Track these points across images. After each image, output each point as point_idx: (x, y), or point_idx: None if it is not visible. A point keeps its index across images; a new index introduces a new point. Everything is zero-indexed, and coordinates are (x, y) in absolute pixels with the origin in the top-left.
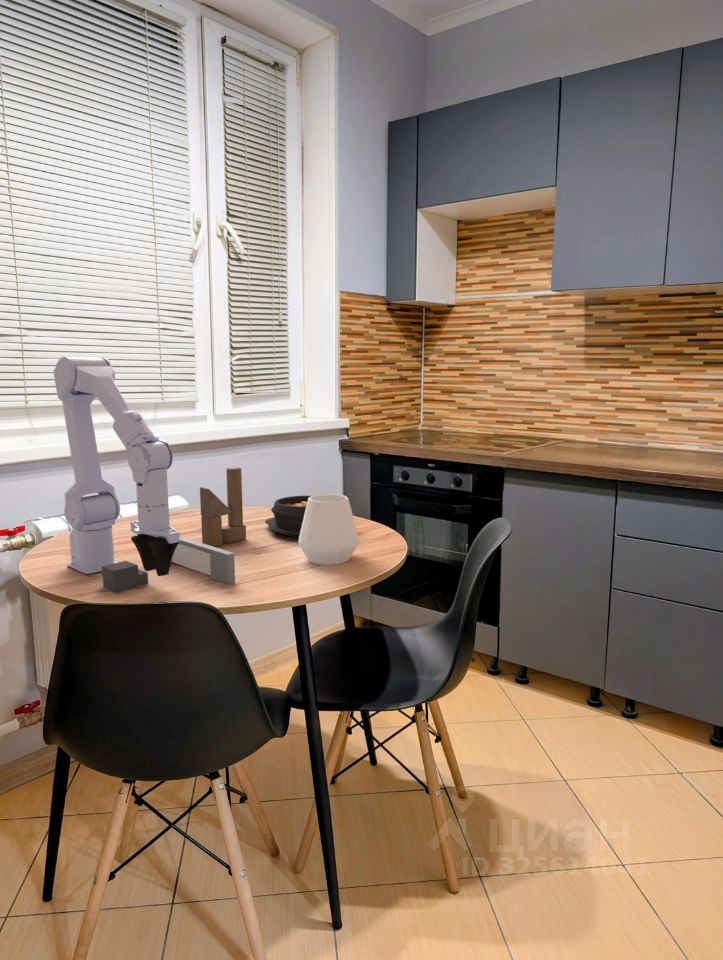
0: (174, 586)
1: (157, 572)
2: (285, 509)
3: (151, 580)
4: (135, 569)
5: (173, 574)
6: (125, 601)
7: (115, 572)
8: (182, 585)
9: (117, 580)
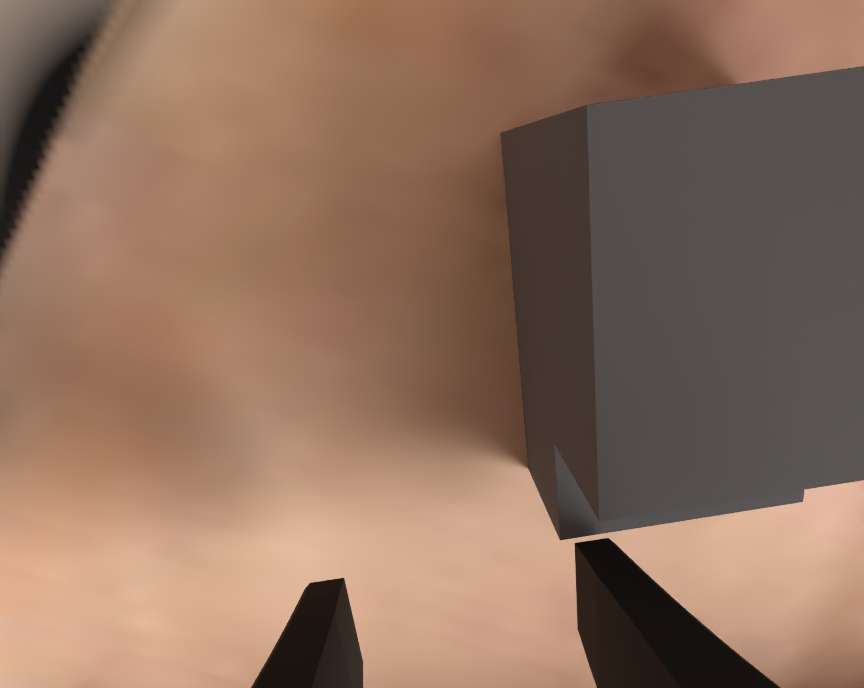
0: None
1: (315, 607)
2: None
3: None
4: (576, 454)
5: None
6: (153, 110)
7: (571, 141)
8: None
9: (534, 170)
